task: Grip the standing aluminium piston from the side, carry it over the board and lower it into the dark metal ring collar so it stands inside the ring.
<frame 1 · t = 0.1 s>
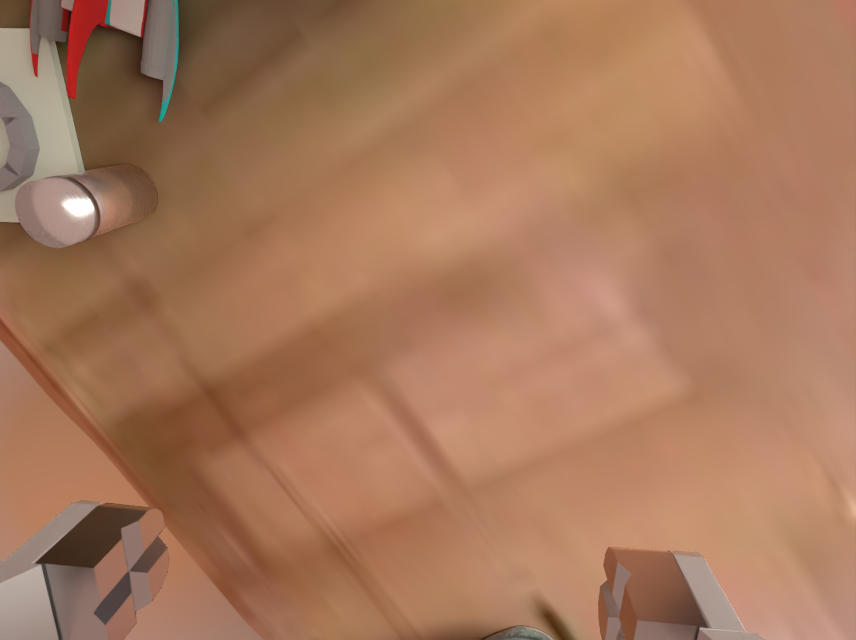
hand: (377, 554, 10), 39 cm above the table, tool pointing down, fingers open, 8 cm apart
piston: (131, 192, 48), on the table
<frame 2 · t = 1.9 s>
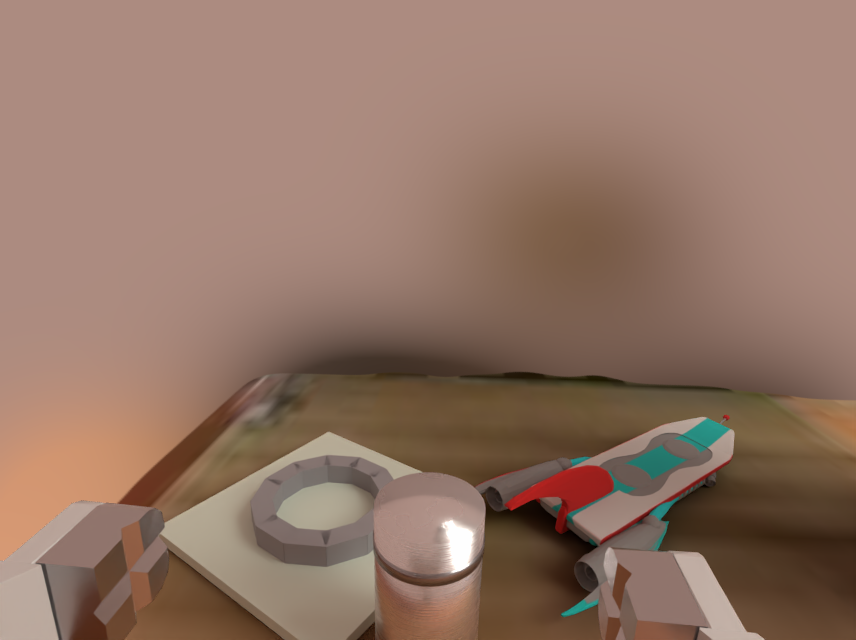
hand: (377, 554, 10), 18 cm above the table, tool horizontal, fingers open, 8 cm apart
toy spaceship: (624, 493, 41), on the table, touching ring plate
ring plate: (327, 522, 37), on the table
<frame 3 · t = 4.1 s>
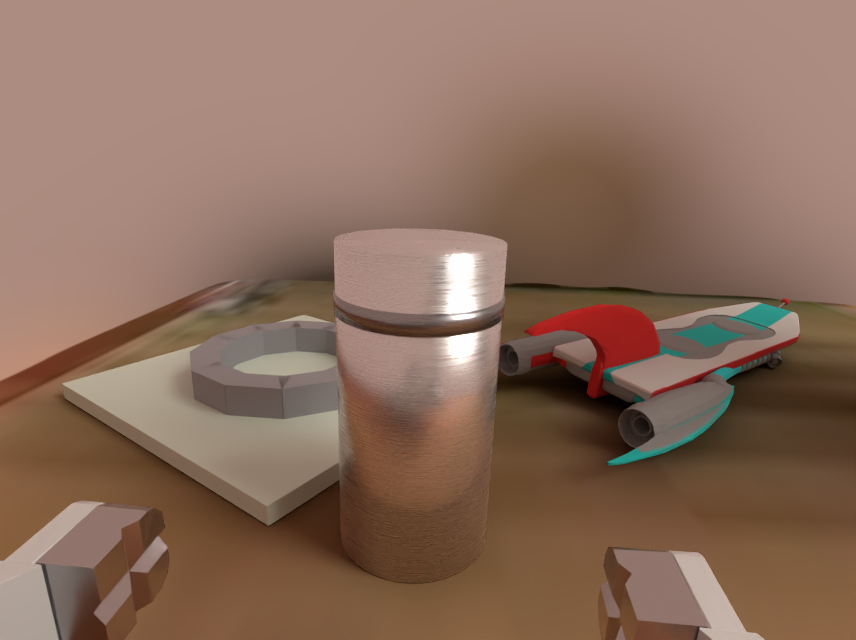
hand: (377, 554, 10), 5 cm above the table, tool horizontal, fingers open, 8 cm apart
toy spaceship: (669, 370, 33), on the table, touching ring plate
ring plate: (292, 388, 29), on the table
piston: (413, 527, 18), on the table
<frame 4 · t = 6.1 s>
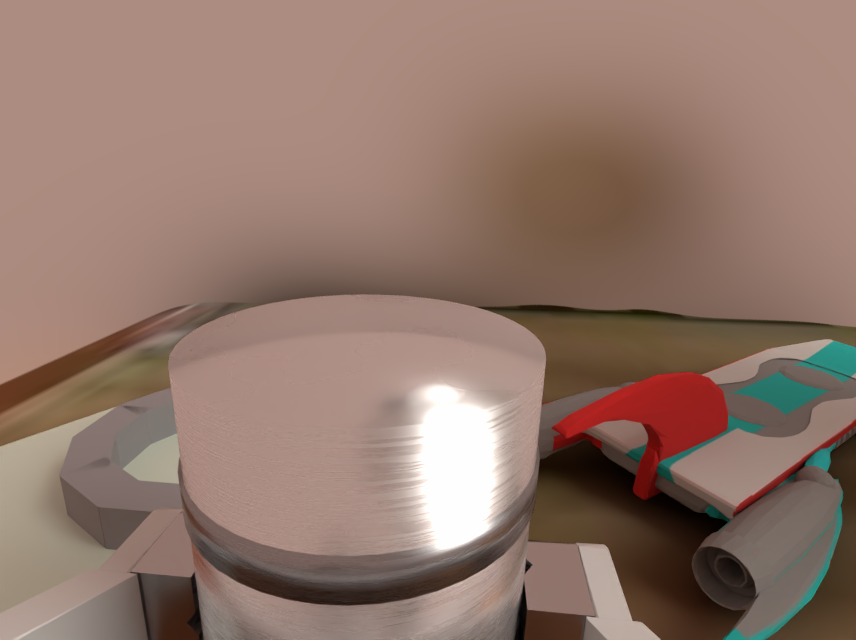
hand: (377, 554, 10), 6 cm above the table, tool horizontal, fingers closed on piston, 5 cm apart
toy spaceship: (733, 441, 25), on the table, touching ring plate
ring plate: (223, 480, 21), on the table
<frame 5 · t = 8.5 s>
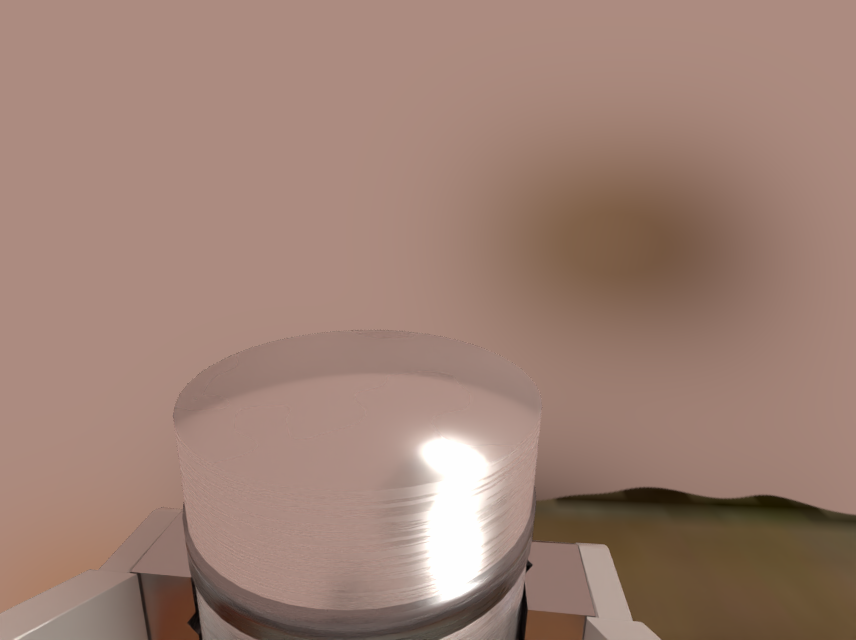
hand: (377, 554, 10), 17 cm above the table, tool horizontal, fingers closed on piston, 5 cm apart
when the fingers open (8 cm above the table, at t = 10.7 s): piston stays where it is, resting on ring plate.
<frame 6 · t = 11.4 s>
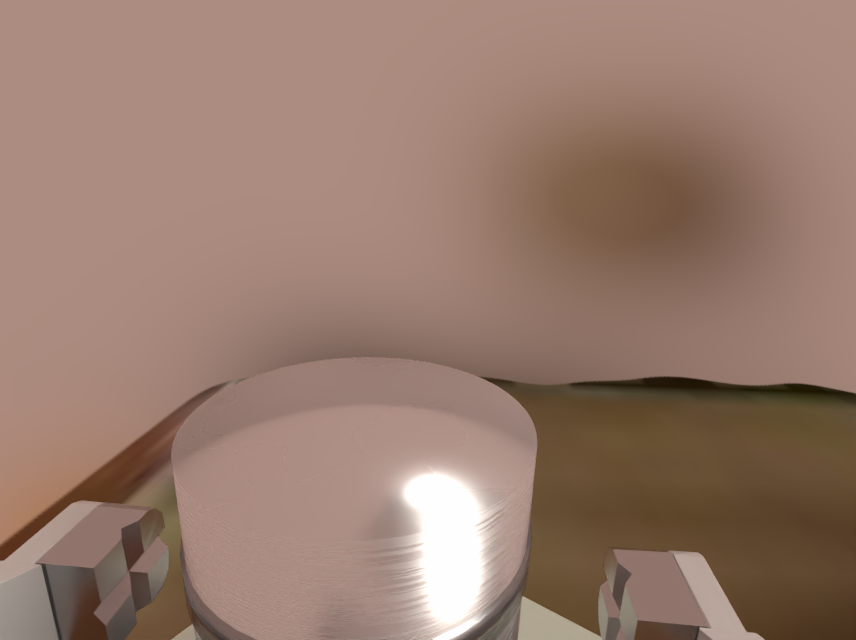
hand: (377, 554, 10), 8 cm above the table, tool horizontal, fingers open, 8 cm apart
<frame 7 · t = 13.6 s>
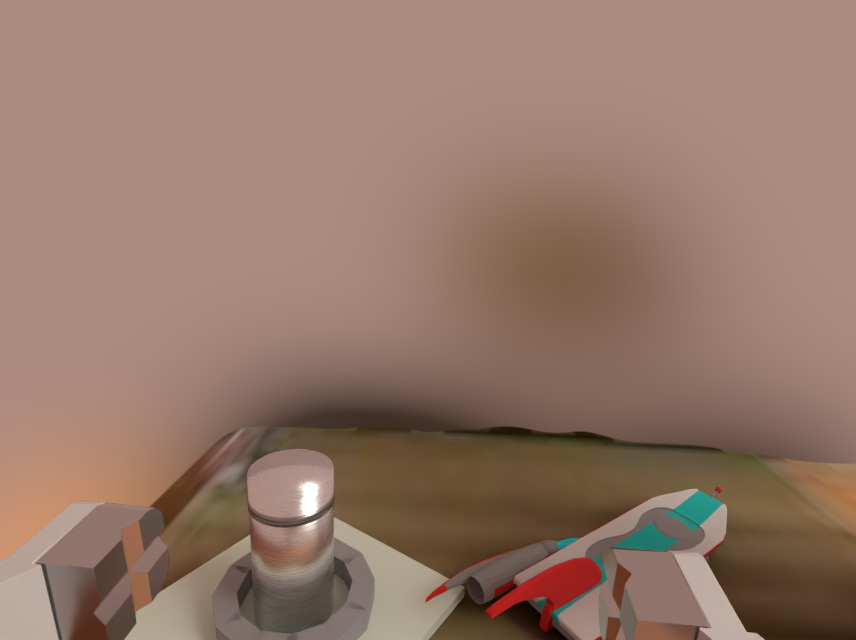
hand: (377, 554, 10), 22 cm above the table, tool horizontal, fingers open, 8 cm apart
toy spaceship: (613, 578, 39), on the table, touching ring plate
ring plate: (296, 615, 35), on the table
piston: (294, 607, 34), point 1 cm above the table, touching ring plate
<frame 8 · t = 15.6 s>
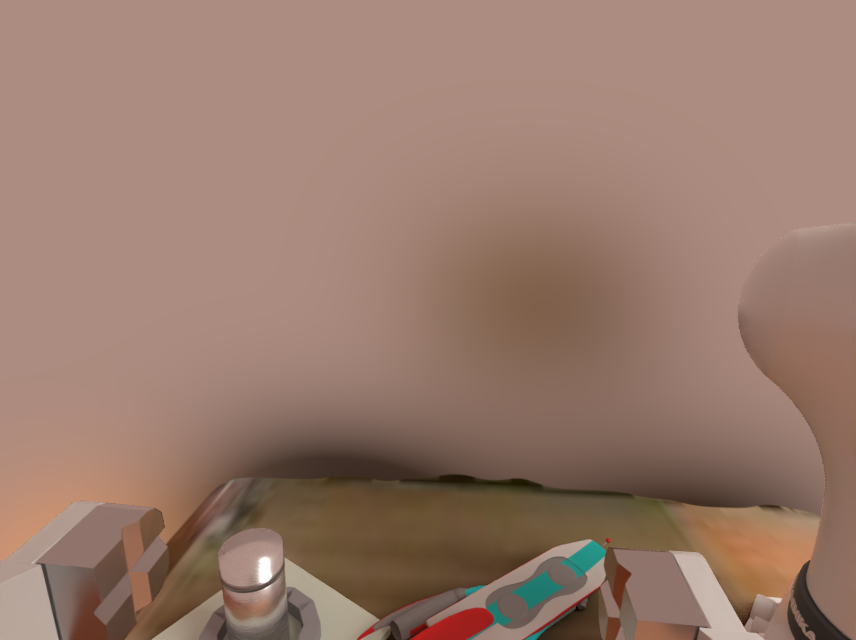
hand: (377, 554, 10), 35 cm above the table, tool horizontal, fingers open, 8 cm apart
toy spaceship: (509, 617, 50), on the table, touching ring plate
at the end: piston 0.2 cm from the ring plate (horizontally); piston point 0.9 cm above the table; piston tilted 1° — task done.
